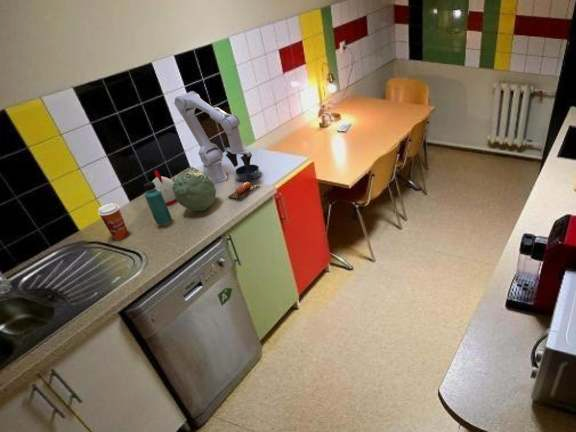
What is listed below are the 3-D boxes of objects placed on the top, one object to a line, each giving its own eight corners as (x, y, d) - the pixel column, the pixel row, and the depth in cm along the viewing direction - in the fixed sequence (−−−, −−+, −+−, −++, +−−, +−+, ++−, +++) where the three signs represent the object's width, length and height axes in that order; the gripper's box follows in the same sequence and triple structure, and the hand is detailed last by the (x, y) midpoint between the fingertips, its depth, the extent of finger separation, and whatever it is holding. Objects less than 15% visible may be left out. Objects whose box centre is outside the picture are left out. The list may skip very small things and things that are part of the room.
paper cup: (117, 243, 171) (103, 214, 164) (107, 238, 175) (92, 209, 167) (135, 233, 177) (122, 205, 169) (125, 228, 180) (112, 200, 173)
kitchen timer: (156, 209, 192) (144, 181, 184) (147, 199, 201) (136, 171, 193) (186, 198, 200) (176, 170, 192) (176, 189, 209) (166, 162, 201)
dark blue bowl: (237, 184, 210) (235, 176, 208) (236, 174, 220) (234, 167, 217) (261, 179, 213) (260, 171, 211) (259, 169, 223) (257, 162, 220)
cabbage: (227, 198, 198) (215, 160, 187) (207, 220, 182) (193, 180, 171) (196, 197, 200) (183, 159, 189) (174, 219, 185) (158, 179, 174)
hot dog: (240, 195, 197) (238, 189, 196) (235, 194, 198) (233, 188, 197) (252, 186, 204) (251, 181, 202) (247, 185, 205) (246, 180, 204)
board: (240, 200, 195) (239, 198, 195) (228, 198, 198) (228, 196, 197) (259, 187, 206) (259, 185, 205) (248, 185, 208) (247, 182, 208)
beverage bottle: (176, 221, 183) (161, 180, 172) (165, 229, 178) (148, 188, 167) (165, 219, 185) (148, 178, 174) (153, 227, 180) (136, 186, 169)
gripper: (252, 140, 197) (258, 166, 205) (229, 136, 203) (236, 161, 210) (242, 145, 192) (249, 172, 199) (219, 141, 198) (226, 167, 205)
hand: (242, 167), depth 204 cm, fingers open, 7 cm apart
